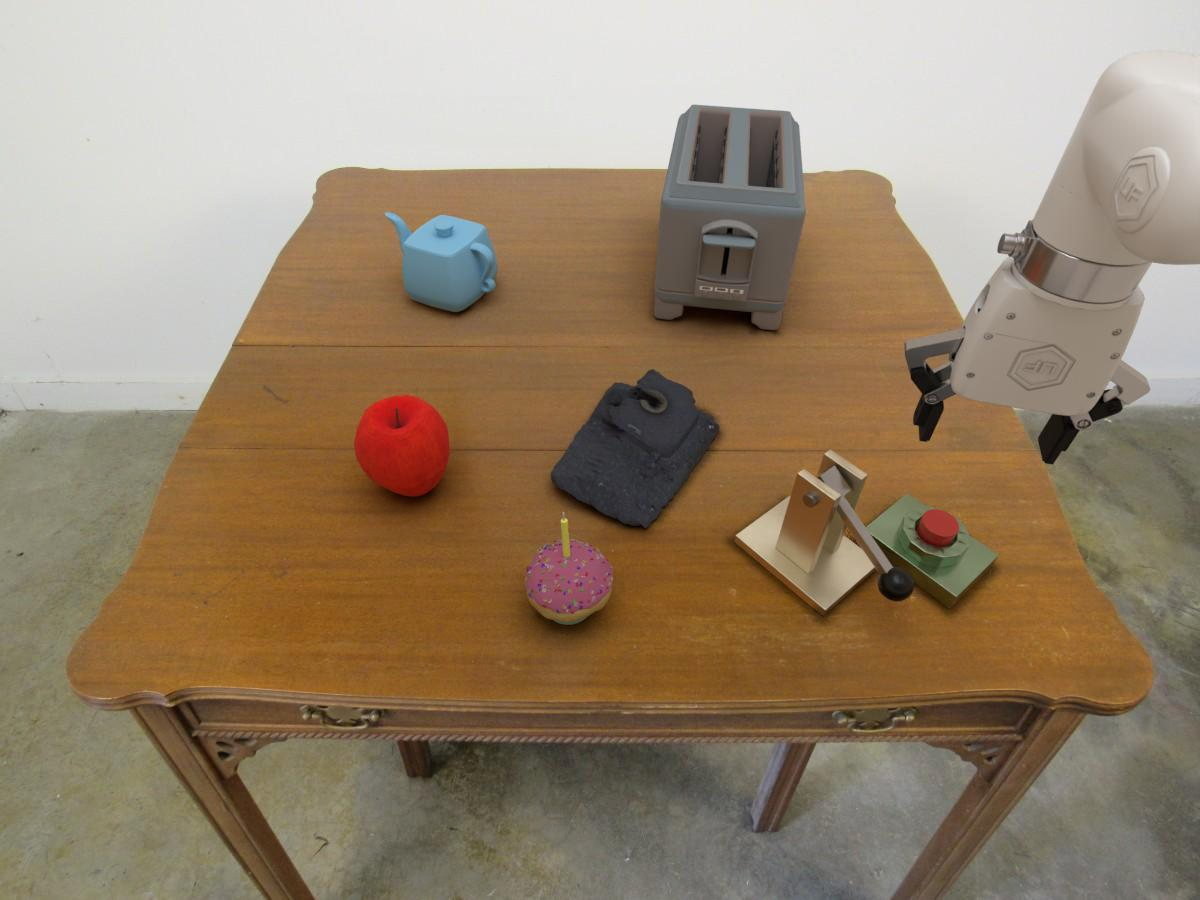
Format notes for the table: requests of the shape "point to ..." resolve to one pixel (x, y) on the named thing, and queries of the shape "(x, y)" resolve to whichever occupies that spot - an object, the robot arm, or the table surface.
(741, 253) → the toaster
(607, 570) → the cupcake
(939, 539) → the button
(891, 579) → the lever
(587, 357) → the table surface
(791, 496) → the switch bracket
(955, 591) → the button housing
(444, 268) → the teapot
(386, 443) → the apple
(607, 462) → the dark gray ringed slab
